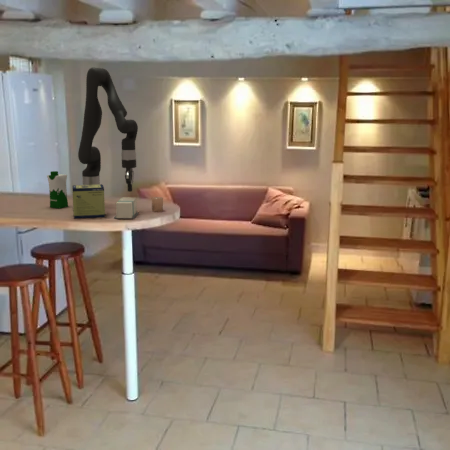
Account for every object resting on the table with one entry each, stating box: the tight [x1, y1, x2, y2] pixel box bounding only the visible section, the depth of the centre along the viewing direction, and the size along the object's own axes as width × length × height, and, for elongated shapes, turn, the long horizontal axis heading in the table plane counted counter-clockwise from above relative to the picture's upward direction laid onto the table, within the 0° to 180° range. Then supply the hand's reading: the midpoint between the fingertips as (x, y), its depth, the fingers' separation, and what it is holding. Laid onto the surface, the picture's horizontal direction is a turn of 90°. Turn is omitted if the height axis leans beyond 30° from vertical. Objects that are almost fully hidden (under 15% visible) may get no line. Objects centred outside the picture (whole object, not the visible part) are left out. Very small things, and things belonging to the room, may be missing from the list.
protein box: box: [72, 183, 106, 220], centre depth 270 cm, size 10×16×16 cm
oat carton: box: [115, 197, 138, 218], centre depth 272 cm, size 8×8×17 cm
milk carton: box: [46, 170, 69, 209], centre depth 294 cm, size 9×9×20 cm
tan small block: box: [151, 196, 164, 213], centre depth 286 cm, size 6×6×7 cm
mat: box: [113, 211, 139, 220], centre depth 273 cm, size 10×14×1 cm
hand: (130, 191), depth 281 cm, fingers closed
